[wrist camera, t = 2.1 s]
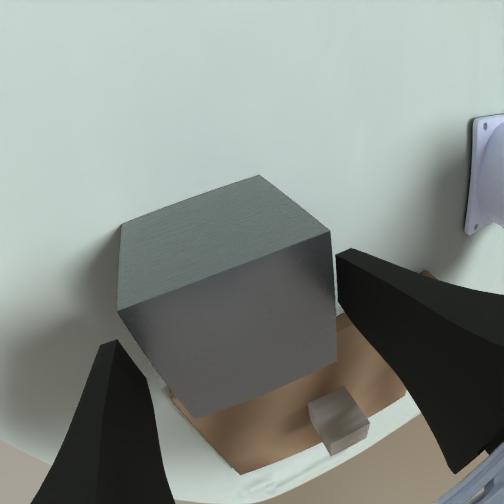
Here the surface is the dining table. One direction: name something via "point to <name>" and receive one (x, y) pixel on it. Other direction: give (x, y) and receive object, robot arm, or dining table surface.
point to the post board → (306, 408)
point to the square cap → (229, 294)
